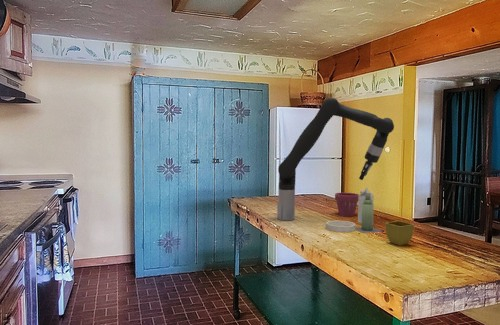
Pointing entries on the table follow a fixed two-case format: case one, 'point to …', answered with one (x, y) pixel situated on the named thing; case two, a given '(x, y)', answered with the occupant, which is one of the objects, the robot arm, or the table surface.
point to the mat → (368, 231)
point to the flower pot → (399, 232)
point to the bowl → (340, 226)
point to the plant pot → (346, 203)
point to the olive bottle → (367, 213)
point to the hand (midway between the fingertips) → (362, 177)
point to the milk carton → (361, 200)
